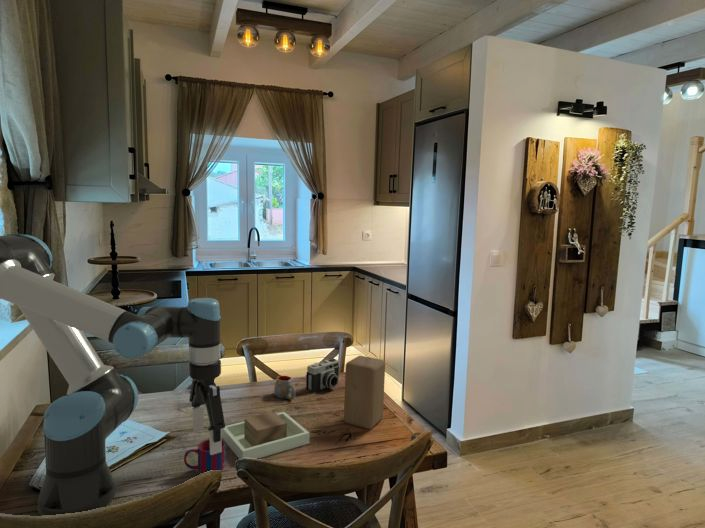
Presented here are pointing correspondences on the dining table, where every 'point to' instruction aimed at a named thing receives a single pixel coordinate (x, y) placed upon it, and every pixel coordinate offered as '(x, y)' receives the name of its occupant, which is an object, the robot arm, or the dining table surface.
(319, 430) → the dining table surface
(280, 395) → the mug
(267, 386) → the dining table surface
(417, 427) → the dining table surface
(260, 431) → the walnut block
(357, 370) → the wooden block
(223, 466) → the cup
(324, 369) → the camera
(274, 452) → the tray
